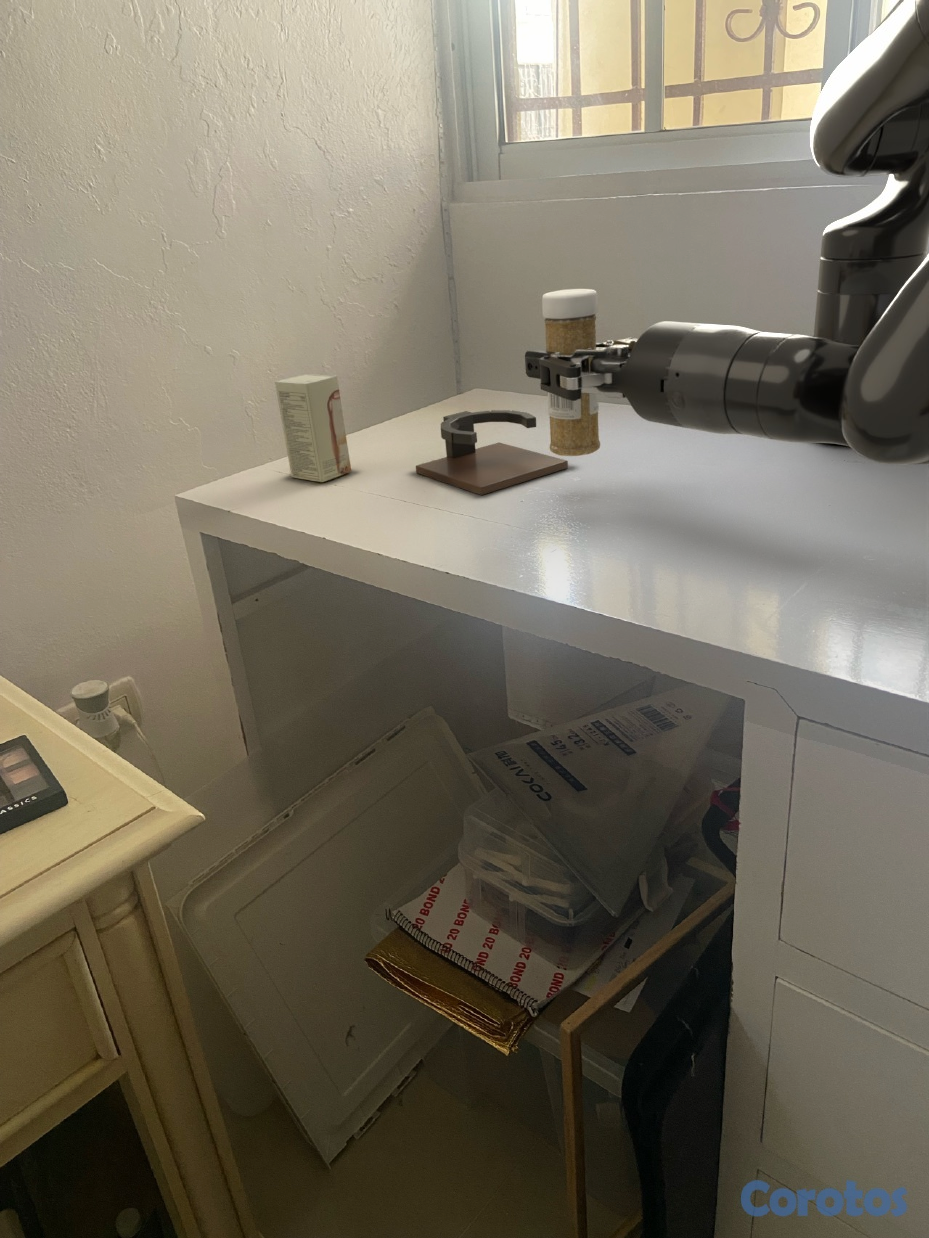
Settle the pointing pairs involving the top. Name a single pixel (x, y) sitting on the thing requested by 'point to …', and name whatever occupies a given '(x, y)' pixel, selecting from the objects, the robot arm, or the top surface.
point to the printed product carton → (313, 426)
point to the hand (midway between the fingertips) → (550, 358)
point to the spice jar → (566, 333)
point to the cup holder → (486, 455)
